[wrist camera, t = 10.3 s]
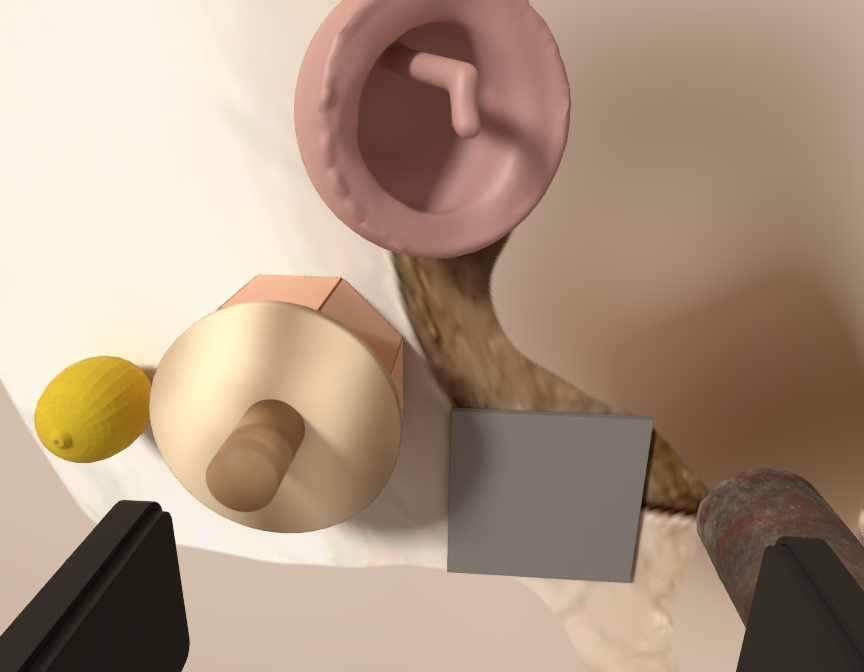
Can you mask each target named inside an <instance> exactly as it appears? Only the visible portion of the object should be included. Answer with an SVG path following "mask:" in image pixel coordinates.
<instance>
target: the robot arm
mask: <svg viewBox="0 0 864 672" xmlns="http://www.w3.org/2000/svg"><path fill="white" fill-rule="evenodd" d="M189 645H190V642H189V632H188V626H187V619H186V612H185V606H184V599H183V591H182V585H181V578H180V571H179V564H178V557H177V551H176V544H175V537H174V530H173V523H172V518H171V515H170V513H169V512H164V511H162V508H161V506H160V505H159V503H157V502H150V501H132V500H122V501H119V502H118V503H116V504H115V505H114V506H113V508H112V509H111V510H110V511H109V512H108V513H107V514H106V516H105V517H104V518H103V519H102V520H101V521H100V522H99V524H98V525H97V526H96V527H95V528H94V529H93V531H92V532H91V533H90V534H89V535H88V536H87V537H86V539H85V540H84V541H83V542H82V543H81V544H80V546H79V547H78V548H77V549H76V550H75V551H74V552H73V554H72V555H71V556H70V557H69V558H68V559H67V560H66V562H65V563H64V564H63V565H62V566H61V567H60V568H59V570H58V571H57V572H56V573H55V574H54V575H53V576H52V578H51V579H50V580H49V581H48V582H47V583H46V584H45V586H44V587H43V588H42V589H41V590H40V591H39V592H38V594H37V595H36V596H35V597H34V598H33V599H32V601H31V602H30V603H29V604H28V605H27V606H26V607H25V609H24V610H23V611H22V612H21V613H20V614H19V616H18V617H17V618H16V619H15V620H14V621H13V622H12V624H11V625H10V626H9V627H8V628H7V629H6V630H5V632H4V633H3V634H2V635H1V636H0V672H181V671H182V669H183V667H184V665H185V663H186V660H187V657H188V652H189ZM736 672H864V591H863V590H862V588H861V587H860V586H859V584H858V583H857V582H856V580H855V579H854V578H853V576H852V575H851V574H850V572H849V571H848V570H847V568H846V567H845V566H844V564H843V563H842V562H841V560H840V559H839V558H838V556H837V555H836V554H835V552H834V551H833V550H832V548H831V547H830V546H829V544H828V543H827V542H826V541H825V540H824V539H821V538H811V537H793V536H782V537H779V539H778V540H777V541H776V544H775V545H768V546H767V547H766V548H765V550H764V553H763V557H762V561H761V566H760V570H759V574H758V579H757V583H756V587H755V592H754V596H753V600H752V605H751V609H750V613H749V618H748V622H747V626H746V631H745V635H744V640H743V644H742V648H741V652H740V657H739V661H738V666H737V670H736Z"/></svg>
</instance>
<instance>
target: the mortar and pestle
mask: <svg viewBox="0 0 864 672" xmlns="http://www.w3.org/2000/svg"><path fill="white" fill-rule="evenodd" d="M570 107H571V99H570V88H569V83H568V79H567V75H566V70H565V67H564V63H563V61H562V59H561V56H560V53H559V49H558V46H557V43H556V41H555V39H554V37H553V35H552V33H551V31H550V29H549V27H548V26H547V24H546V22H545V21H544V20H543V18H542V17H541V16H540V15H539V14H538V13H537V12H536V11H535V10H534V9H533V7H532V6H531V5H530V4H529V3H528V2H527V1H526V0H343V1H342V2H340V3H339V4H338V5H337V6H336V7H335V8H334V9H333V10H332V11H331V13H330V14H329V15H328V16H327V18H326V19H325V20H324V22H323V23H322V24H321V26H320V27H319V29H318V30H317V32H316V33H315V35H314V37H313V39H312V41H311V43H310V45H309V47H308V49H307V51H306V54H305V56H304V59H303V62H302V65H301V68H300V71H299V75H298V80H297V85H296V91H295V101H294V121H295V131H296V137H297V143H298V146H299V150H300V154H301V158H302V161H303V164H304V166H305V168H306V171H307V173H308V176H309V178H310V180H311V182H312V183H313V185H314V187H315V189H316V190H317V192H318V193H319V195H320V196H321V198H322V199H323V201H324V202H325V204H326V205H327V206H328V207H329V209H330V210H331V211H332V212H333V213H334V214H335V215H336V216H337V218H338V219H340V220H341V221H342V222H343V223H344V224H345V225H347V226H348V227H349V228H350V229H351V230H353V231H354V232H355V233H357V234H358V235H360V236H361V237H363V238H365V239H366V240H368V241H370V242H372V243H374V244H376V245H377V246H379V247H382V248H384V249H387V250H390V251H392V252H396V253H399V254H403V255H408V256H413V257H420V258H432V259H443V258H453V257H458V256H462V255H465V254H469V253H473V252H475V251H478V250H480V249H483V248H485V247H487V246H489V245H491V244H493V243H495V242H496V241H498V240H499V239H501V238H502V237H504V236H505V235H507V234H508V233H509V232H510V231H512V230H513V229H514V228H516V227H517V226H518V225H519V224H520V223H521V222H522V221H523V220H524V219H525V218H526V217H527V216H528V215H529V214H530V213H531V212H532V210H533V209H534V208H535V207H536V205H537V204H538V203H539V201H540V200H541V199H542V197H543V195H544V194H545V192H546V191H547V189H548V187H549V185H550V183H551V182H552V180H553V178H554V176H555V173H556V171H557V169H558V166H559V164H560V161H561V158H562V156H563V151H564V149H565V146H566V142H567V137H568V132H569V121H570Z"/></svg>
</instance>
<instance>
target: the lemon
mask: <svg viewBox="0 0 864 672" xmlns="http://www.w3.org/2000/svg"><path fill="white" fill-rule="evenodd" d="M151 387H152V385H151V383H150V380H149V379H148V377H147V376H146V375H145V373H144V372H143V371H142V370H141V369H140V368H139V367H138V366H136V365H134V364H133V363H131V362H130V361H127V360H125V359H122V358H119V357H112V356H99V357H91V358H87V359H84V360H82V361H80V362H77V363H75V364H73V365H71V366H69V367H67V368H66V369H65V370H63V371H62V372H61V373H60V374H59V375H57V376H56V377H55V378H54V379H53V380H52V381H51V382H50V383H49V384H48V386H47V387H46V389H45V390H44V392H43V393H42V395H41V397H40V399H39V400H38V403H37V406H36V410H35V415H34V420H35V428H36V431H37V434H38V437H39V439H40V440H41V442H42V443H43V445H44V446H45V447H46V448H47V449H48V450H49V451H50V452H52V453H53V454H54V455H56V456H58V457H60V458H62V459H64V460H67V461H71V462H76V463H92V462H96V461H100V460H104V459H107V458H109V457H111V456H113V455H115V454H117V453H119V452H120V451H122V450H124V449H126V448H127V447H128V446H130V445H131V444H132V443H133V442H134V441H135V440H136V439H137V438H138V437H139V436H140V435H141V434H142V433H143V431H144V430H145V428H146V427H147V425H148V423H149V421H150V409H149V404H150V391H151Z"/></svg>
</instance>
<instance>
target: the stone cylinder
mask: <svg viewBox="0 0 864 672" xmlns="http://www.w3.org/2000/svg"><path fill="white" fill-rule="evenodd" d="M696 523H697V532H698V534H699V537H700V539H701V541H702V543H703V545H704V546H705V548H706V550H707V552H708V554H709V557H710V559H711V561H712V563H713V565H714V567H715V569H716V571H717V573H718V576H719V578H720V580H721V582H722V583H723V584H724V587H725V589H726V591H727V593H728V594H729V596H730V598H731V600H732V602H733V604H734V606H735V607H736V610H737V612H738V614H739V616H740V618H741V619H742V622H743V623H744V625H745V627H746V626H747V622H748V618H749V613H750V609H751V605H752V600H753V596H754V592H755V587H756V583H757V579H758V574H759V570H760V566H761V561H762V557H763V553H764V550H765V548H766V547H767V546H768V545H775V544H776V541H777V540H778V539H779V537H782V536H793V537H811V538H821V539H824V540H825V541H826V542H827V543H828V544H829V546H830V547H831V548H832V550H833V551H834V552H835V554H836V555H837V556H838V558H839V559H840V560H841V562H842V563H843V564H844V566H845V567H846V568H847V570H848V571H849V572H850V574H851V575H852V576H853V578H854V579H855V580H856V582H857V583H858V584H859V586H860V587H861V588H862V590H863V591H864V547H863V546H862V545H861V544H860V542H859V541H858V539H857V538H856V537H855V536H854V535H853V533H852V532H851V531H850V530H849V528H848V527H847V526H846V525H845V524H844V523H843V522H842V520H841V519H840V518H839V517H838V515H837V514H836V513H835V512H834V511H833V509H832V508H831V507H830V506H829V504H828V503H827V502H826V501H825V500H824V499H823V498H822V496H821V495H820V494H819V493H818V492H817V491H816V489H815V488H814V487H813V486H812V485H811V484H810V483H809V482H808V481H806V480H805V479H804V478H803V477H800V476H798V475H795V474H793V473H790V472H788V471H783V470H780V469H773V468H755V469H750V470H747V471H746V472H744V473H739V474H738V475H736V476H734V477H732V478H729V479H728V480H725V481H723V482H721V483H719V484H718V485H717V486H716V487H715V488H714V489H713V490H712V492H711V493H710V494H709V495H708V496H707V497H706V498H704V499H703V500H702V501H701V503H700V506H699V510H698V514H697V522H696Z"/></svg>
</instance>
